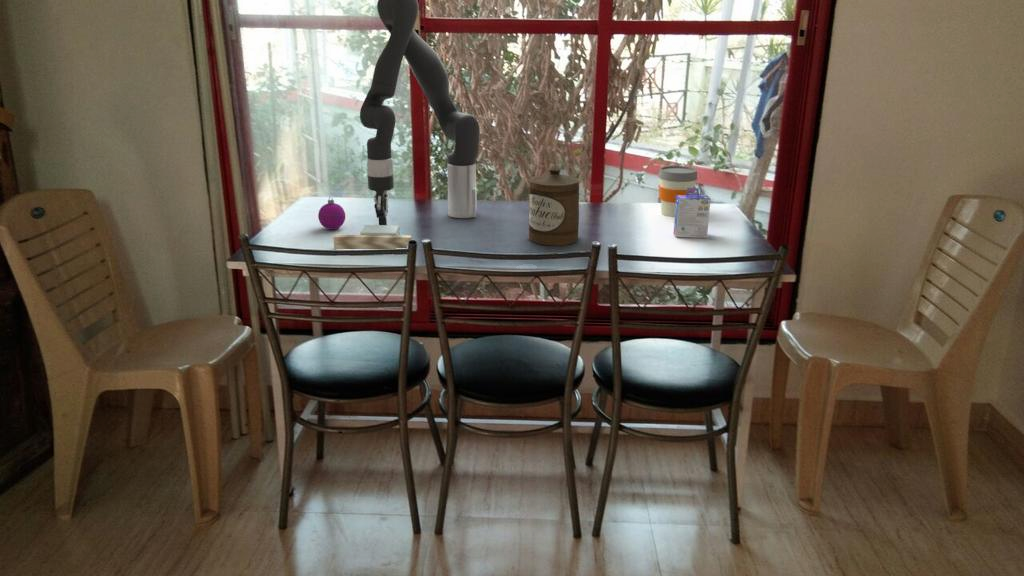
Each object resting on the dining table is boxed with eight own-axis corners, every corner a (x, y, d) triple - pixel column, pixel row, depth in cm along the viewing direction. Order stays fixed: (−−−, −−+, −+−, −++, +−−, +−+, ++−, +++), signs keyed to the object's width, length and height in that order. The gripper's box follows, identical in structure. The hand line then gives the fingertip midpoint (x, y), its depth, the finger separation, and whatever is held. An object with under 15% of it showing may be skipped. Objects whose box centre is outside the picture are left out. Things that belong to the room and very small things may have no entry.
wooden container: (518, 239, 250) (519, 166, 242) (549, 229, 260) (551, 159, 253) (557, 249, 241) (559, 174, 233) (587, 238, 251) (591, 166, 244)
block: (399, 241, 247) (399, 225, 245) (396, 249, 239) (395, 232, 238) (366, 241, 247) (365, 224, 245) (361, 249, 239) (360, 232, 238)
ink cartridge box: (704, 233, 258) (708, 187, 253) (708, 238, 252) (712, 191, 247) (672, 232, 258) (675, 186, 253) (675, 238, 252) (679, 191, 247)
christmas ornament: (316, 232, 254) (313, 200, 251) (323, 225, 262) (321, 193, 259) (342, 232, 254) (340, 200, 251) (348, 225, 262) (347, 194, 258)
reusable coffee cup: (648, 212, 280) (651, 168, 275) (673, 207, 288) (677, 164, 283) (676, 220, 271) (679, 175, 266) (701, 214, 278) (705, 170, 273)
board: (412, 248, 239) (411, 235, 238) (411, 251, 237) (410, 237, 236) (335, 248, 239) (334, 234, 238) (334, 250, 237) (333, 236, 236)
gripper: (390, 178, 241) (392, 235, 247) (395, 168, 253) (398, 223, 259) (364, 178, 241) (367, 235, 247) (371, 168, 253) (373, 223, 259)
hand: (383, 229), depth 253 cm, fingers closed
